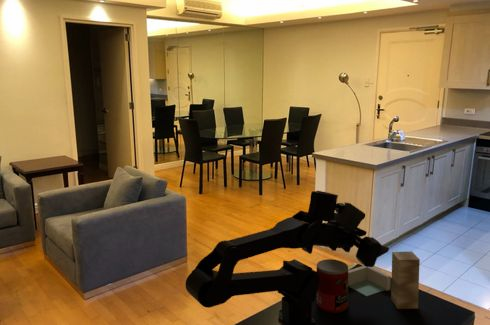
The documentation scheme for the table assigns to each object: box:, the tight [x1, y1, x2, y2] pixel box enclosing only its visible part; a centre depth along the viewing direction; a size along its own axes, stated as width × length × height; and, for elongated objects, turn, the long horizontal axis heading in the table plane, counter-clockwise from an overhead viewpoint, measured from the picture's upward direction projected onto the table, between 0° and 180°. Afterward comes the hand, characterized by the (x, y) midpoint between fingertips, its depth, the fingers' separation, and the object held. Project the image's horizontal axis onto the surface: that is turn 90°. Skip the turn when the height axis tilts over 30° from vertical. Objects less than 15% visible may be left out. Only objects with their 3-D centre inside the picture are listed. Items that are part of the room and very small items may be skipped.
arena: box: [348, 265, 391, 298], centre depth 111 cm, size 13×9×4 cm
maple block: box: [390, 251, 421, 310], centre depth 102 cm, size 5×5×13 cm
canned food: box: [316, 258, 349, 314], centre depth 102 cm, size 8×8×11 cm
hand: (376, 241), depth 105 cm, fingers open, 9 cm apart
